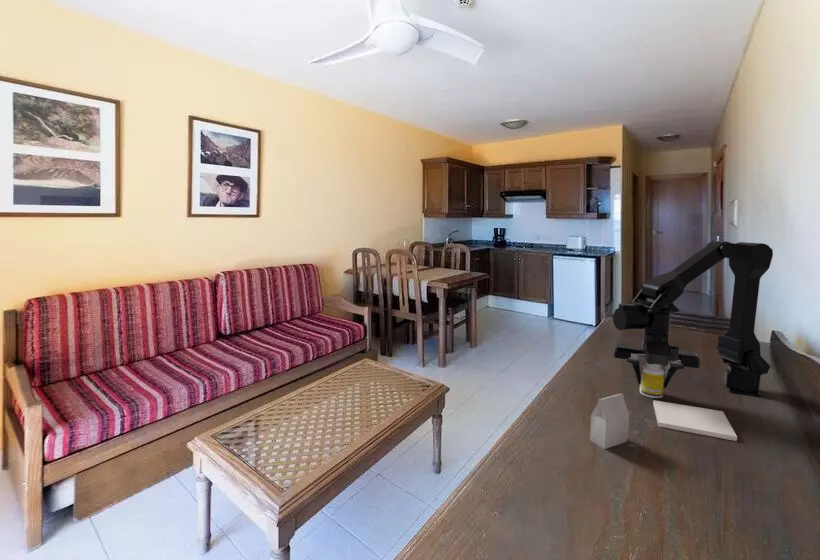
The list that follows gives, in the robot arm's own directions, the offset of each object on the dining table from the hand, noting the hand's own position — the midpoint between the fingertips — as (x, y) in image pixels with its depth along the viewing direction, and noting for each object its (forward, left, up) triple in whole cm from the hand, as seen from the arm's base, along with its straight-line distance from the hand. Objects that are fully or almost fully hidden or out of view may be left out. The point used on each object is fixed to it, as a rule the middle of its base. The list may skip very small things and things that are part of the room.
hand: (651, 385), depth 104 cm
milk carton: (+10, +29, -3) cm, 31 cm away
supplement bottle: (0, 0, -3) cm, 3 cm away
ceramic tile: (-7, +12, -2) cm, 14 cm away
